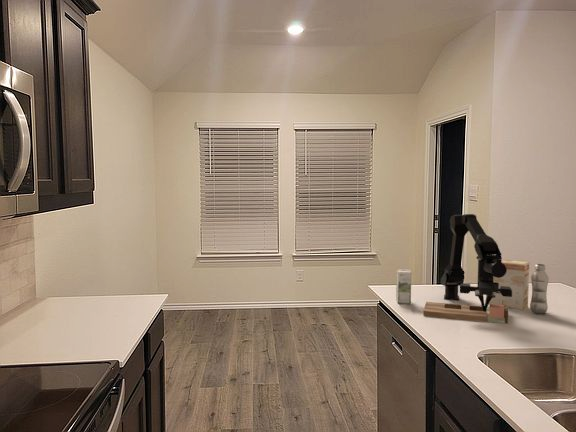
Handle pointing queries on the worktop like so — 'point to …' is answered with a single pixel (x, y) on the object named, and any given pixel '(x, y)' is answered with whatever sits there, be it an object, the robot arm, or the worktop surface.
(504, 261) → the coffeecake box
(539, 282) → the plastic bottle
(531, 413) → the worktop surface
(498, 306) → the coral block
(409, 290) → the syrup box
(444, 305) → the board
